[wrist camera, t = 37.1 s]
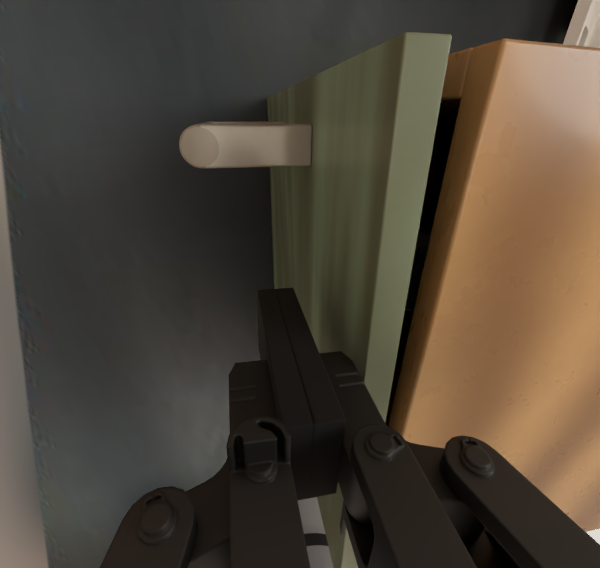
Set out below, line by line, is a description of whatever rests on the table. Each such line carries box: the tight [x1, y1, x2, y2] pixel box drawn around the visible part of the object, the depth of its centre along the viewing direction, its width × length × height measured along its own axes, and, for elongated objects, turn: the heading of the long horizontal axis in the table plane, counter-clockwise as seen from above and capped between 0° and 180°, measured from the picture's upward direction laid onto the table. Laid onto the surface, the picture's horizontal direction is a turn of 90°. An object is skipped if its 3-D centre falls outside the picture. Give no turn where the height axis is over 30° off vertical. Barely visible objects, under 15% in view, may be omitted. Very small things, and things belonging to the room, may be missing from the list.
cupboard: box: [385, 38, 600, 532], centre depth 23 cm, size 16×22×24 cm
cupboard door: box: [179, 32, 452, 568], centre depth 21 cm, size 6×22×24 cm, turn 0°
